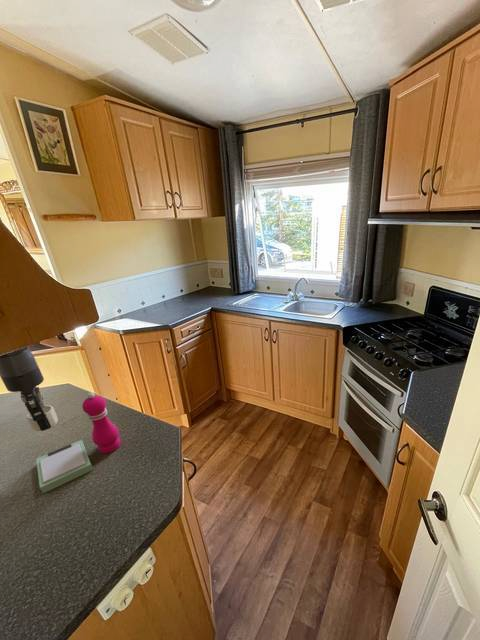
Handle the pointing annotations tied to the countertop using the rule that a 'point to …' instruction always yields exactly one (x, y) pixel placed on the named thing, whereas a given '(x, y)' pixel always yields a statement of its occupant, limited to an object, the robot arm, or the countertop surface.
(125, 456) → the countertop surface
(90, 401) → the pepper mill
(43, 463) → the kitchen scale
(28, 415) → the dip bowl
